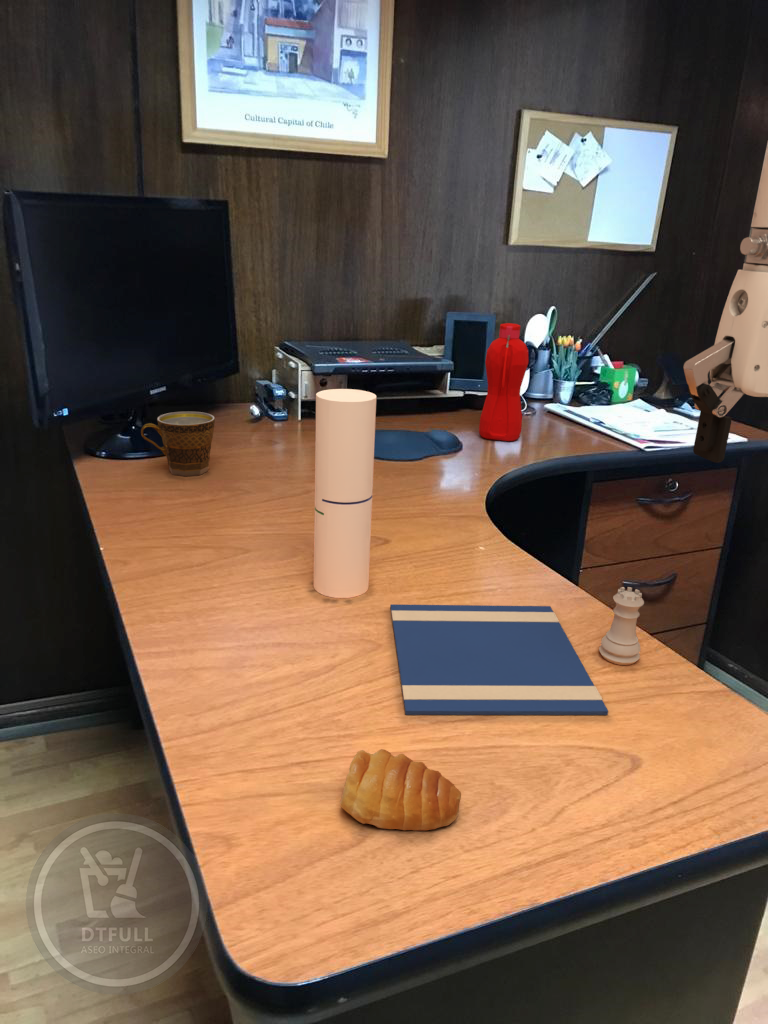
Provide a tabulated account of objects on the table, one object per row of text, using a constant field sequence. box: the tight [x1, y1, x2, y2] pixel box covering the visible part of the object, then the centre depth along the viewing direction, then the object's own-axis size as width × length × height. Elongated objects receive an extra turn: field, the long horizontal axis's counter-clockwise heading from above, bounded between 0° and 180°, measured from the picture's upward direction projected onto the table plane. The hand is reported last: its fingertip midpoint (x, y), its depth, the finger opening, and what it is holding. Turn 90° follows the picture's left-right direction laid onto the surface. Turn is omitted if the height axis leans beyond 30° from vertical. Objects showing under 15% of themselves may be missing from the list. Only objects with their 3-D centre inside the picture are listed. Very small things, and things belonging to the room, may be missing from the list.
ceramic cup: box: [140, 410, 216, 478], centre depth 139 cm, size 13×10×10 cm
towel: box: [389, 603, 609, 716], centre depth 85 cm, size 20×22×1 cm
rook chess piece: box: [598, 586, 645, 666], centre depth 85 cm, size 4×4×8 cm
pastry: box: [339, 748, 462, 832], centre depth 62 cm, size 9×7×4 cm
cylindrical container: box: [313, 388, 377, 599], centre depth 96 cm, size 7×7×25 cm
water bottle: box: [478, 322, 529, 442], centre depth 169 cm, size 9×11×25 cm
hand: (751, 455), depth 69 cm, fingers open, 9 cm apart
